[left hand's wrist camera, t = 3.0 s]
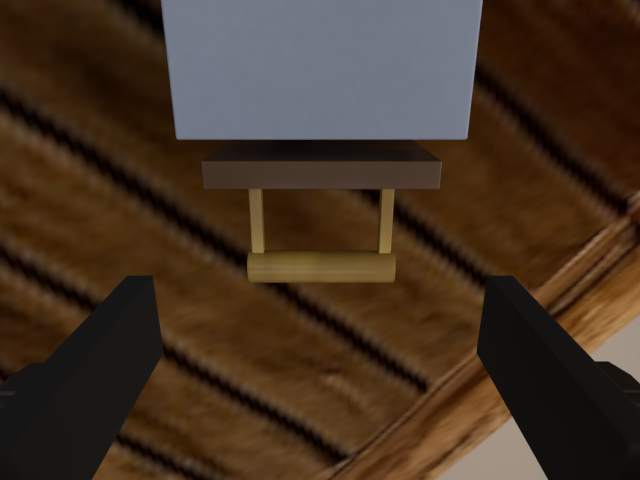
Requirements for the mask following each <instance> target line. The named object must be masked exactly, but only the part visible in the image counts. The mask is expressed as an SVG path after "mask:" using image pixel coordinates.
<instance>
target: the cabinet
mask: <svg viewBox="0 0 640 480" xmlns="http://www.w3.org/2000/svg"><path fill="white" fill-rule="evenodd" d="M482 2H483V0H161V7H162V16H163V25H164V34H165V43H166V52H167V61H168V70H169V79H170V88H171V97H172V106H173V115H174V124H175V133H176V138H177V139H178V140H465V139H467V135H468V126H469V117H470V108H471V99H472V91H473V82H474V73H475V64H476V55H477V46H478V37H479V29H480V20H481V11H482Z"/></svg>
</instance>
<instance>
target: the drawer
mask: <svg viewBox="0 0 640 480" xmlns="http://www.w3.org/2000/svg"><path fill="white" fill-rule="evenodd" d="M201 168H202V179H203V188H204V189H248V193H249V211H250V228H251V245H252V251H249V253H248V259H247V275H248V280H249V282H394V279H395V255H394V252H393V251H391V239H392V222H393V205H394V189H439V188H440V178H441V168H442V161H441V160H439V159H438V158H437V157H435V156H434V155H432V154H431V153H430V152H428V151H427V150H425V149H424V148H422V147H421V146H420V145H418V144H417V143H415V142H414V141H413V140H230V141H228V142H227V143H226V144H224V145H223V146H221V147H220V148H219V149H217V150H216V151H215V152H213V153H212V154H211V155H209V156H208V157H206V158H205V159H204V160H202V161H201ZM262 189H380V206H379V227H378V248H377V249H378V251H264V250H265V238H264V216H263V195H262Z"/></svg>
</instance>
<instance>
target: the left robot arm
mask: <svg viewBox="0 0 640 480" xmlns="http://www.w3.org/2000/svg"><path fill="white" fill-rule="evenodd" d="M163 353H164V352H163V345H162V338H161V331H160V324H159V317H158V310H157V303H156V296H155V289H154V282H153V276H127V277H126V278H125V279H124V280H123V281H122V282H121V283H120V284H119V285H118V286H117V287H116V288H115V289H114V290H113V291H112V292H111V293H110V294H109V296H108V297H107V298H106V299H105V300H104V301H103V302H102V303H101V304H100V305H99V306H98V307H97V308H96V309H95V310H94V311H93V312H92V313H91V314H90V315H89V316H88V317H87V318H86V319H85V321H84V322H83V323H82V324H81V325H80V326H79V327H78V328H77V329H76V330H75V331H74V332H73V333H72V334H71V335H70V336H69V337H68V338H67V339H66V340H65V341H64V342H63V343H62V344H61V346H60V347H59V348H58V349H57V350H56V351H55V352H54V353H53V354H52V355H51V356H50V357H49V358H48V359H47V360H46V361H45V362H44V363H31V364H30V365H28V366H26V367H25V368H23V369H21V370H20V371H18V372H16V373H15V374H13V375H11V376H10V377H9V378H8V379H7V380H6V381H4V382H3V383H2V384H1V385H0V480H92V478H93V477H94V475H95V473H96V471H97V470H98V468H99V466H100V464H101V462H102V461H103V459H104V457H105V455H106V454H107V452H108V450H109V448H110V446H111V445H112V443H113V441H114V439H115V438H116V436H117V434H118V432H119V431H120V429H121V427H122V425H123V423H124V422H125V420H126V418H127V416H128V415H129V413H130V411H131V409H132V407H133V406H134V404H135V402H136V400H137V399H138V397H139V395H140V393H141V392H142V390H143V388H144V386H145V384H146V383H147V381H148V379H149V377H150V376H151V374H152V372H153V370H154V368H155V367H156V365H157V363H158V361H159V360H160V358H161V356H162V354H163ZM476 353H477V354H478V356H479V358H480V360H481V361H482V363H483V365H484V367H485V368H486V370H487V372H488V374H489V376H490V377H491V379H492V381H493V383H494V384H495V386H496V388H497V390H498V392H499V393H500V395H501V397H502V399H503V400H504V402H505V404H506V406H507V407H508V409H509V411H510V413H511V415H512V416H513V418H514V420H515V422H516V423H517V425H518V427H519V429H520V430H521V432H522V434H523V436H524V438H525V439H526V441H527V443H528V445H529V446H530V448H531V450H532V452H533V453H534V455H535V457H536V459H537V461H538V462H539V464H540V466H541V468H542V469H543V471H544V473H545V475H546V477H547V478H548V480H640V383H639V382H638V381H637V380H635V379H634V378H633V377H632V376H631V375H630V374H628V373H627V372H625V371H623V370H621V369H620V368H618V367H617V366H615V365H613V364H611V363H610V362H595V361H594V360H593V359H592V358H591V357H590V356H589V355H588V354H587V353H586V352H585V351H584V350H583V349H582V348H581V347H580V346H579V344H578V343H577V342H576V341H575V340H574V339H573V338H572V337H571V336H570V335H569V334H568V333H567V332H566V331H565V330H564V329H563V328H562V327H561V326H560V325H559V324H558V323H557V322H556V321H555V319H554V318H553V317H552V316H551V315H550V314H549V313H548V312H547V311H546V310H545V309H544V308H543V307H542V306H541V305H540V304H539V303H538V302H537V301H536V300H535V299H534V298H533V297H532V295H531V294H530V293H529V292H528V291H527V290H526V289H525V288H524V287H523V286H522V285H521V284H520V283H519V282H518V281H517V280H516V279H515V278H514V277H513V276H487V282H486V289H485V296H484V303H483V310H482V317H481V324H480V331H479V338H478V345H477V352H476Z"/></svg>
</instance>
